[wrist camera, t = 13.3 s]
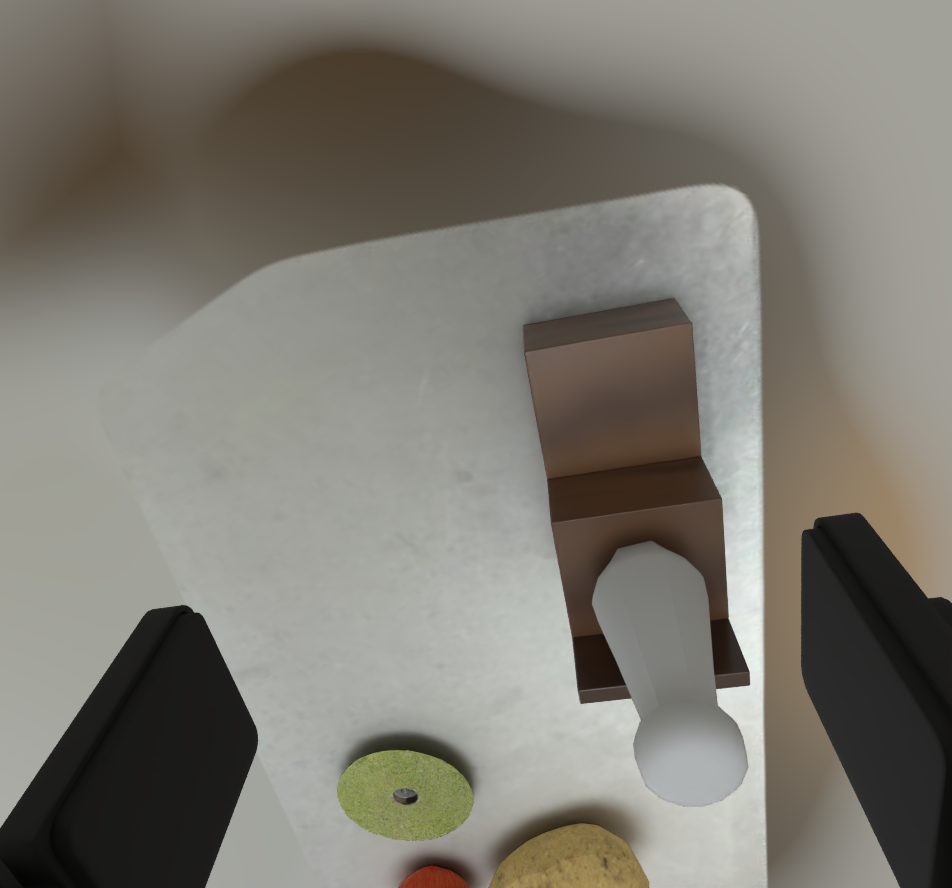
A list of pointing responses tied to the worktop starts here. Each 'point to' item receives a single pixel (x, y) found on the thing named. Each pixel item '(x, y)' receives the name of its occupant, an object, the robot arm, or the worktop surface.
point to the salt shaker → (670, 674)
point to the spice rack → (626, 468)
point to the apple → (433, 879)
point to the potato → (572, 861)
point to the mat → (405, 795)
